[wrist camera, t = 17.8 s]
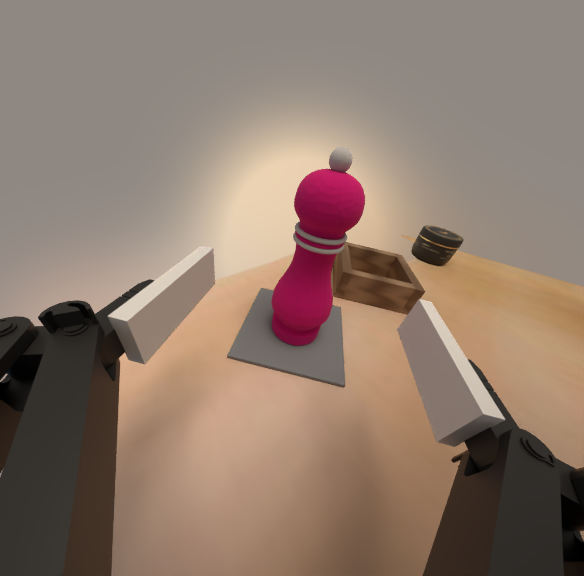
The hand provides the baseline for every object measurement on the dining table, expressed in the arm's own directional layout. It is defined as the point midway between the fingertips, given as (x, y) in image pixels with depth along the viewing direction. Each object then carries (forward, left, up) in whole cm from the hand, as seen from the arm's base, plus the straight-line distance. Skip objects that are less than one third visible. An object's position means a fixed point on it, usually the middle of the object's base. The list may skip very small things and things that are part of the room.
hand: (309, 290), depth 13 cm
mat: (0, -8, -13) cm, 15 cm away
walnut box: (-12, -24, -13) cm, 30 cm away
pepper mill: (0, -8, -12) cm, 15 cm away
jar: (-33, -47, -13) cm, 59 cm away
